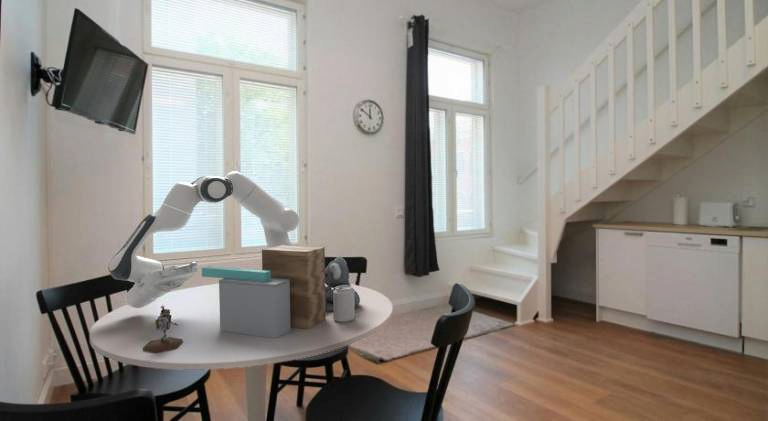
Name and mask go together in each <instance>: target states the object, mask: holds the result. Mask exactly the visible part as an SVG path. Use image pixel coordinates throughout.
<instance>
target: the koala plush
mask: <svg viewBox="0 0 768 421" xmlns="http://www.w3.org/2000/svg"><path fill="white" fill-rule="evenodd" d="M347 264H348V263H347V261H346V260H345V259H344V258H343V257H341V256H337V257H336V258H334V260H331V261H330V262H329V263H328V265H327V266H325V312H334V304H333V292H334V290H335V287H337V286H343V285H347V286H352V284H351V283H350V274H349V273H350V270H349V268H348V265H347ZM352 289H353V290H354V301H355V308H357V307H359V305H360V302H361V299H360V295H359V294H358V292H357V291H356V290H355V288H352Z"/></svg>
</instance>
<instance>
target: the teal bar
mask: <svg viewBox="0 0 768 421" xmlns="http://www.w3.org/2000/svg"><path fill="white" fill-rule="evenodd" d="M201 277H204V278H215V279H216V278H217V279H224V278H226V279H238V280H250V281H262V282H266V281H269V280H271V271H266V270H262V269H250V268H249V269H247V268H234V267H221V266H219V267H218V266H204V267H201Z"/></svg>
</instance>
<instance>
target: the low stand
mask: <svg viewBox="0 0 768 421" xmlns="http://www.w3.org/2000/svg"><path fill="white" fill-rule="evenodd" d="M218 294H219V299H218V301H219V302H218V303H219V330H220V331H221V332H228V333H237V334H243V335H251V336H255V337H256V336H258V337H266V338H272V339H278V338H280V337H281V336H283V335H285V334H286V333H288V332H290V331H291V327H290V279H277V278H271V280H269V281H266V282H262V281H250V280H238V279H226V278H219V279H218Z"/></svg>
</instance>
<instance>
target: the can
mask: <svg viewBox="0 0 768 421" xmlns="http://www.w3.org/2000/svg"><path fill="white" fill-rule="evenodd" d="M352 288H353V286H352V285H351V286H347V285H343V286H337V287H335V290H334V292H333V304H334V311H333V319H334V321H335V322H337V323H349V322H350V323H351V322H352V321H353V320H354V319H355V316H356V314H355V309H356V307H355V301H354V290H355V289H354V288H353V289H354V290H353V289H352Z"/></svg>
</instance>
